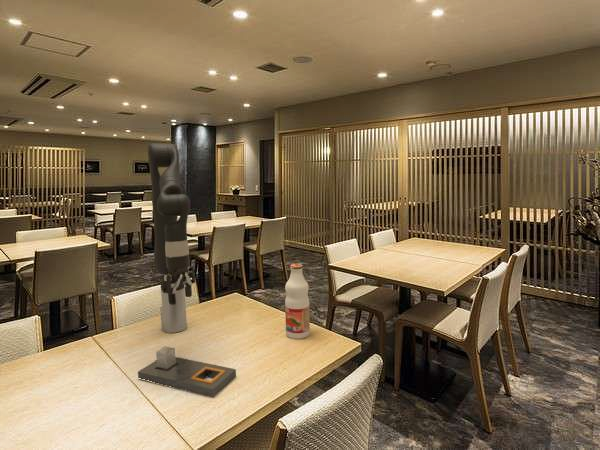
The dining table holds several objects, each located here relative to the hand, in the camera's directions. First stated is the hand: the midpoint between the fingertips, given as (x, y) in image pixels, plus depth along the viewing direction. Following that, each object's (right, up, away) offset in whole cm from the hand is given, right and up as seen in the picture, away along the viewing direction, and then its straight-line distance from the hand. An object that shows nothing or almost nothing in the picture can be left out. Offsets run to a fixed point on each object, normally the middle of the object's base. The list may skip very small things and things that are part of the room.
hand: (180, 300), depth 131 cm
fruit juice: (+40, -18, +20) cm, 48 cm away
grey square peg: (-2, -22, -8) cm, 23 cm away
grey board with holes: (+5, -22, -11) cm, 25 cm away
